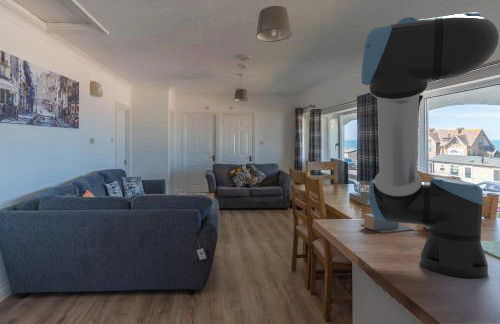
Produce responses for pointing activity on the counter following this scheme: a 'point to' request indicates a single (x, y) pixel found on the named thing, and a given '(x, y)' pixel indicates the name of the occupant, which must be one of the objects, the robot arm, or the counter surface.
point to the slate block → (378, 223)
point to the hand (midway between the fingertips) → (403, 144)
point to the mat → (393, 229)
